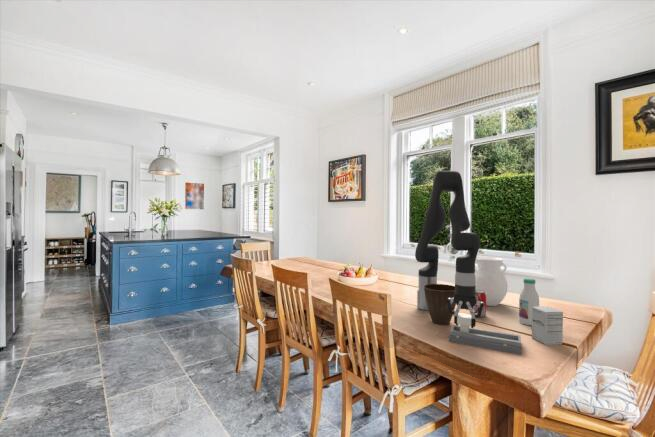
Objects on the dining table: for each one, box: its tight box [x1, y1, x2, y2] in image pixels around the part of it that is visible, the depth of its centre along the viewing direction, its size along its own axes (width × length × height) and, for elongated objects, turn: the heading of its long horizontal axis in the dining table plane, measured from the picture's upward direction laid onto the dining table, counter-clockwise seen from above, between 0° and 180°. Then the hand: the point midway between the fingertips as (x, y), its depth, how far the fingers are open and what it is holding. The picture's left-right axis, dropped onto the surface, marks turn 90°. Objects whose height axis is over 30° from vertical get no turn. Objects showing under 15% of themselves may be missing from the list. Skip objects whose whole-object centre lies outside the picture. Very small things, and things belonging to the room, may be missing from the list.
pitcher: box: [475, 256, 509, 307], centre depth 180 cm, size 19×18×25 cm
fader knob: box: [457, 312, 472, 333], centre depth 129 cm, size 5×5×7 cm
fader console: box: [448, 324, 522, 355], centre depth 126 cm, size 24×12×4 cm, turn 61°
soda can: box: [473, 290, 487, 318], centre depth 159 cm, size 7×7×12 cm
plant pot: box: [424, 283, 457, 326], centre depth 149 cm, size 15×15×16 cm
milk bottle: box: [518, 277, 540, 327], centre depth 147 cm, size 8×8×20 cm
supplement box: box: [531, 305, 564, 346], centre depth 127 cm, size 7×7×13 cm
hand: (464, 326), depth 129 cm, fingers closed on fader knob, 5 cm apart
